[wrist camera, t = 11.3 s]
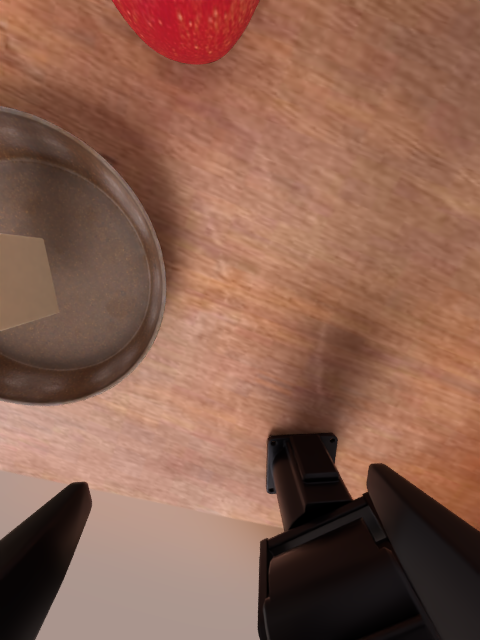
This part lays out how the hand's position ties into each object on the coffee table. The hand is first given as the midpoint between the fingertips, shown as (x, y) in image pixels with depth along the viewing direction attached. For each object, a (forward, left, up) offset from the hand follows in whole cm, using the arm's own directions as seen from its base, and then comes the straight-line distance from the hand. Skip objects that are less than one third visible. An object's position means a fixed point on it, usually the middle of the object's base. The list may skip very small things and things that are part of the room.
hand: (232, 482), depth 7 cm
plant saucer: (+6, +13, -12) cm, 19 cm away
